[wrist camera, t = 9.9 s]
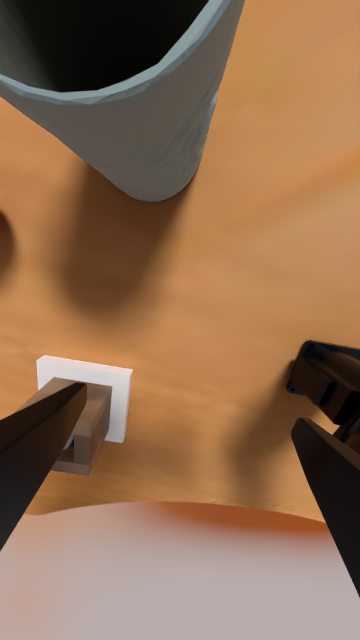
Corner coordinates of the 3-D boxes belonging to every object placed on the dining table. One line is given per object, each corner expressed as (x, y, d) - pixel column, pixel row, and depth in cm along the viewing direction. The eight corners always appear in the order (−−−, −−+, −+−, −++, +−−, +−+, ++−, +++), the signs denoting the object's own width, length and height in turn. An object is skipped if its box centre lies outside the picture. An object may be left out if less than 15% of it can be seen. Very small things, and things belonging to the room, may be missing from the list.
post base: (133, 369, 21) (115, 407, 16) (125, 434, 24) (108, 484, 19) (44, 354, 21) (-5, 388, 15) (48, 422, 24) (8, 471, 18)
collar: (112, 386, 20) (90, 424, 16) (108, 429, 22) (88, 475, 18) (54, 376, 20) (14, 413, 15) (55, 421, 22) (20, 466, 17)
